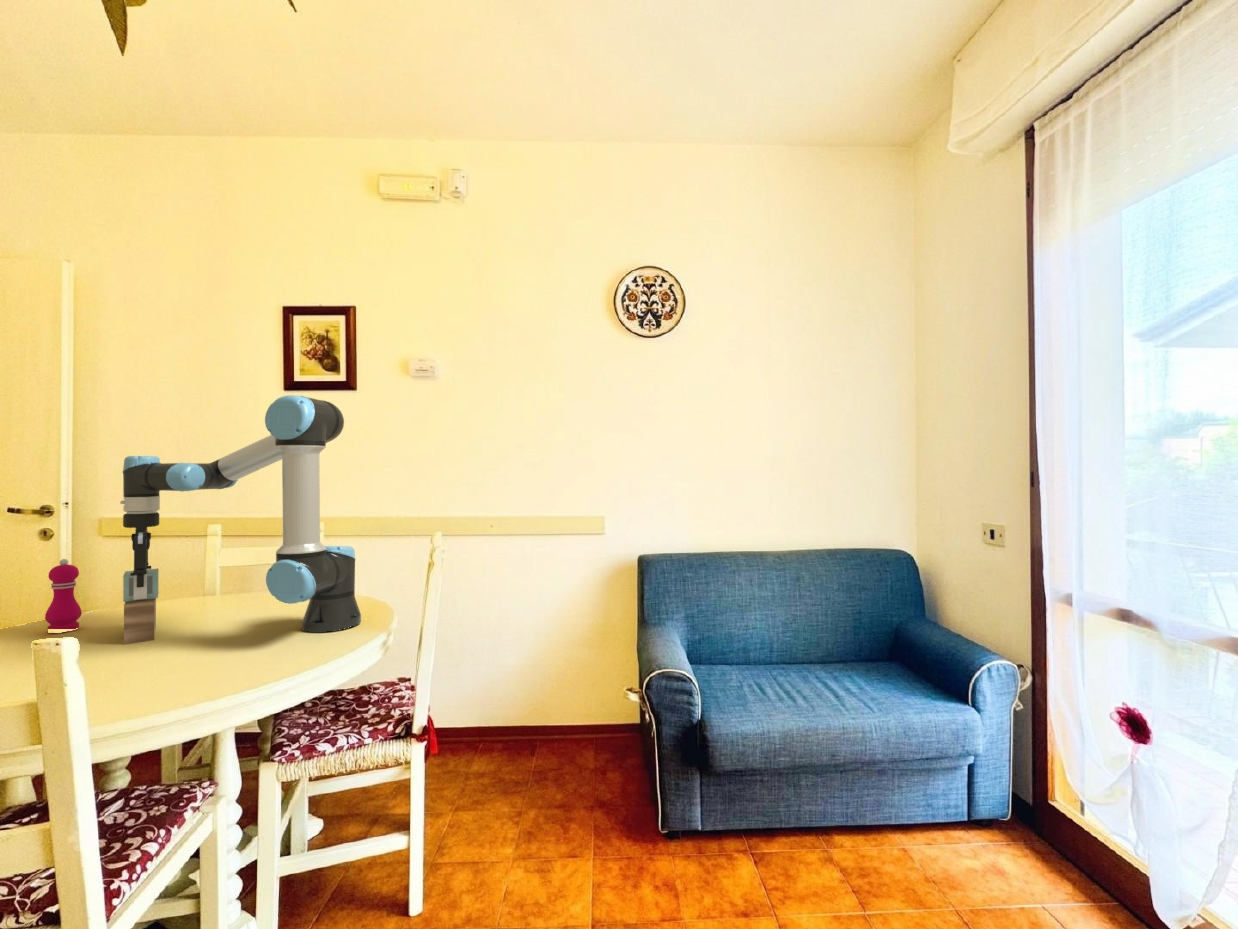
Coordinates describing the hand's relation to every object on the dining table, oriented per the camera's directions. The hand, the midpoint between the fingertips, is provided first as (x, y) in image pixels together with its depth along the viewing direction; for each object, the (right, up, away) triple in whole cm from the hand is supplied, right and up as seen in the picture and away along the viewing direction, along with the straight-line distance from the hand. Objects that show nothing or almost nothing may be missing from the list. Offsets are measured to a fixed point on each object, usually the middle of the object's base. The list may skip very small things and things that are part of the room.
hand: (141, 596), depth 151 cm
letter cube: (0, 0, 0) cm, 0 cm away
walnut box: (0, -11, 0) cm, 11 cm away
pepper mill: (-25, -11, +3) cm, 27 cm away
